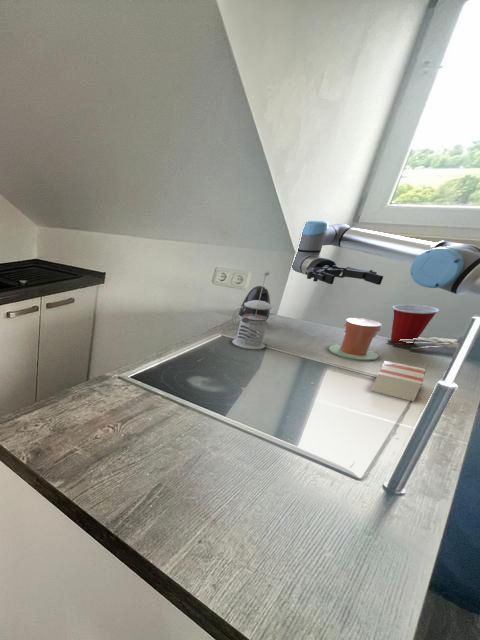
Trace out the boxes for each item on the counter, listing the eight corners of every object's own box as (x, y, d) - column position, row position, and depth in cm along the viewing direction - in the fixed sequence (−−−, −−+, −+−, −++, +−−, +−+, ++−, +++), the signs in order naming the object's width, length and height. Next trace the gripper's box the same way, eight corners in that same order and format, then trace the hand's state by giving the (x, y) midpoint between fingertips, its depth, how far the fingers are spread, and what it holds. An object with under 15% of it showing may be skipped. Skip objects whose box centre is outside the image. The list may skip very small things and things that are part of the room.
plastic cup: (381, 333, 140) (394, 300, 135) (424, 340, 133) (439, 306, 128) (378, 341, 133) (392, 307, 128) (423, 349, 126) (439, 313, 121)
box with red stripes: (377, 376, 110) (384, 360, 108) (418, 385, 104) (425, 369, 102) (371, 390, 102) (378, 373, 100) (413, 401, 97) (422, 383, 95)
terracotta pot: (361, 347, 127) (372, 318, 123) (376, 357, 120) (388, 327, 116) (331, 345, 129) (341, 317, 125) (344, 355, 122) (355, 325, 118)
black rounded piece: (241, 328, 149) (250, 289, 142) (232, 319, 158) (241, 282, 152) (271, 329, 146) (282, 289, 140) (260, 320, 156) (270, 283, 150)
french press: (258, 351, 128) (278, 275, 118) (221, 342, 136) (237, 270, 126) (269, 344, 133) (289, 271, 123) (234, 335, 142) (250, 266, 132)
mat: (364, 347, 129) (364, 346, 128) (386, 361, 118) (387, 360, 118) (321, 344, 132) (322, 343, 131) (340, 358, 121) (340, 357, 121)
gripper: (353, 278, 143) (396, 292, 124) (279, 277, 147) (309, 291, 128) (360, 257, 140) (405, 268, 121) (284, 257, 144) (316, 268, 125)
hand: (356, 280), depth 125 cm, fingers open, 13 cm apart
